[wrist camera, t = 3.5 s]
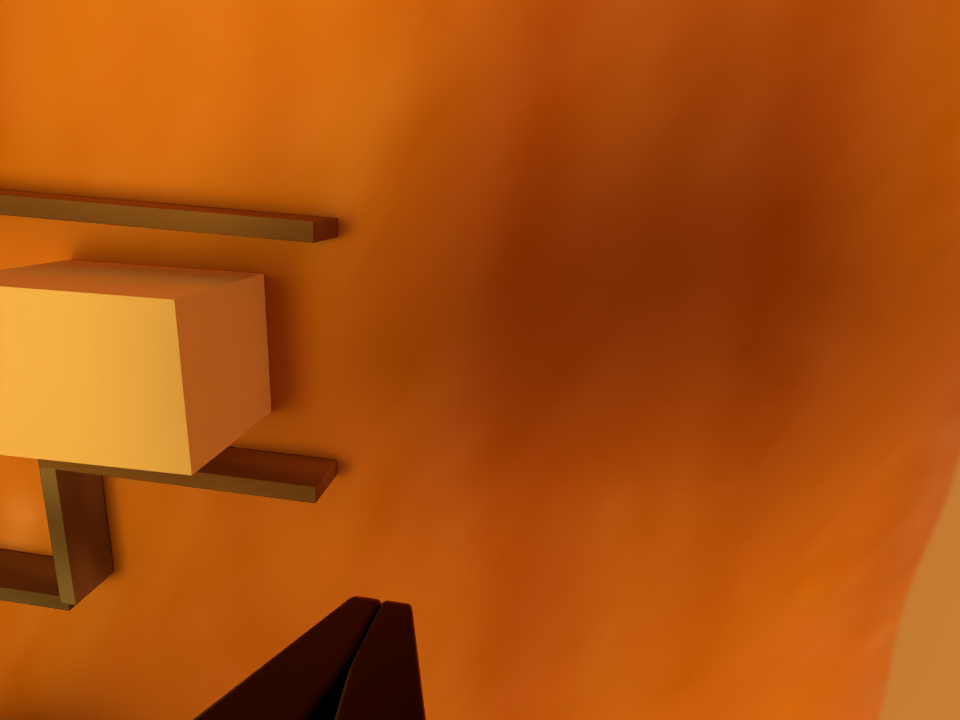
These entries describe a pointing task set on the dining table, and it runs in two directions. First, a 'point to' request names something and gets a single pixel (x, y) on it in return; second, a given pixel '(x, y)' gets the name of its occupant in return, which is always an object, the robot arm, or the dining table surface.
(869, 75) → the dining table surface
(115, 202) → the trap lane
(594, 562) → the dining table surface
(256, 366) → the cream block
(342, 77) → the dining table surface
